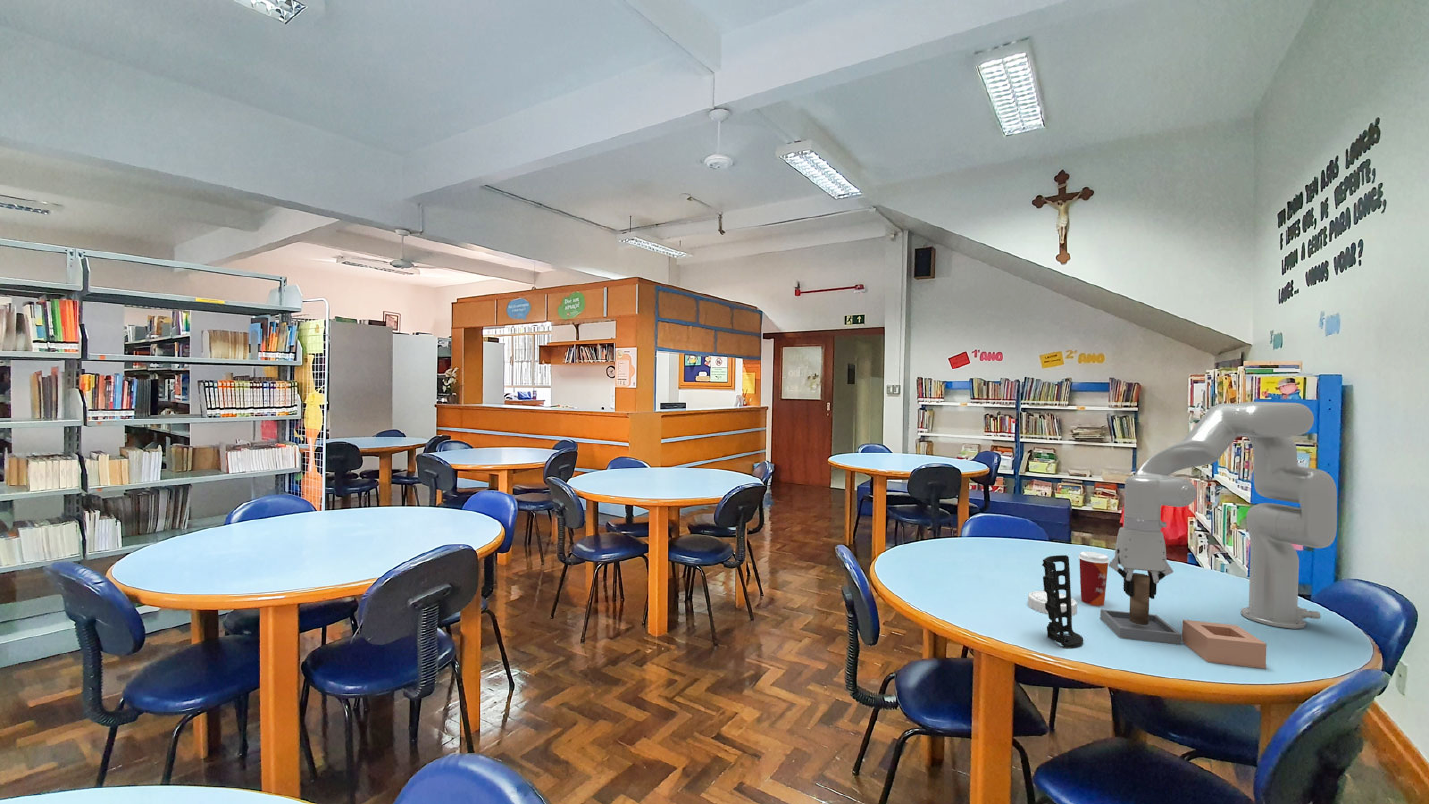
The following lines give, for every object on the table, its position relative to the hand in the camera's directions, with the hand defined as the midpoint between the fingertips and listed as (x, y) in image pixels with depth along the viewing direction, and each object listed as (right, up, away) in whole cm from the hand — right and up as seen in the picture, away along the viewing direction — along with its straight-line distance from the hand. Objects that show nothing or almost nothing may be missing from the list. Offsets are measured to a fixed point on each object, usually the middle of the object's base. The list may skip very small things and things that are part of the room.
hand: (1139, 595), depth 148 cm
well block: (+10, -10, -13) cm, 19 cm away
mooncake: (-14, -9, +15) cm, 22 cm away
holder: (-24, -9, -6) cm, 26 cm away
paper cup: (+1, -9, +20) cm, 22 cm away
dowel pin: (0, -7, 0) cm, 7 cm away
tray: (0, -9, 0) cm, 9 cm away
